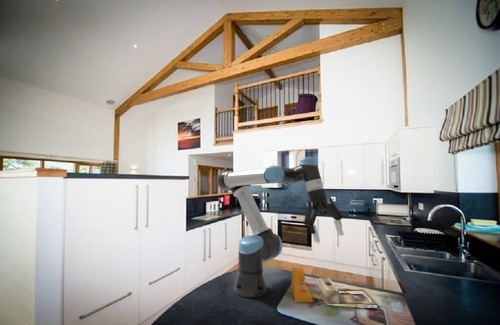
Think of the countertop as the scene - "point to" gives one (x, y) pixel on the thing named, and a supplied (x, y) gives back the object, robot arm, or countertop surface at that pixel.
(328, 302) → the seat holder
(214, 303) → the countertop surface
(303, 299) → the bracket
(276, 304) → the countertop surface
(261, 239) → the robot arm
